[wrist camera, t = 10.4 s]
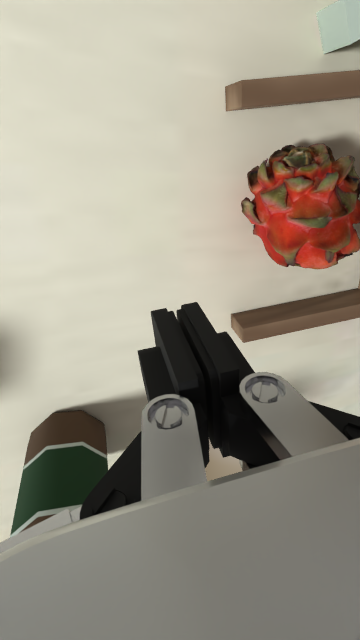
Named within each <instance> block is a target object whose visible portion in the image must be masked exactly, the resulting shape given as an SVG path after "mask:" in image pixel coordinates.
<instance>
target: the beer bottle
mask: <svg viewBox="0 0 360 640" xmlns="http://www.w3.org/2000/svg"><path fill="white" fill-rule="evenodd" d="M107 472H108V463H107V447H106V434H105V427H104V424H103V423H102V422H100V421H99V420H97V419H96V418H94V417H92V416H91V415H89V414H87V413H86V412H84V411H82V410H78V411H68V412H58V413H52V414H51V415H50V416H49V417H48V418H47V419H46V420H45V421H43V422H42V423H41V424H40V425H39V426H38V427H37V428H36V429H35V430H34V431H33V432H32V433H31V436H30V440H29V443H28V447H27V452H26V458H25V463H24V468H23V473H22V478H21V483H20V489H19V494H18V499H17V504H16V509H15V515H14V520H13V525H12V530H11V535H10V538H11V537H12V536H14V535H16V534H18V533H20V532H22V531H24V530H26V529H28V528H30V527H32V526H34V525H36V524H38V523H40V522H42V521H44V520H46V519H48V518H50V517H52V516H54V515H56V514H58V513H60V512H62V511H64V510H66V509H67V508H68V509H69V512H71V511H73V510H75V509H77V508H79V507H81V506H82V504H83V502H84V501H85V499H86V497H87V496H88V494H89V493H90V492H91V491H92V490H93V488H94V487H95V486H96V485H97V484H98V482H99V481H100V480H101V479H102V478H103V476H104V475H105V474H106V473H107Z"/></svg>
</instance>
